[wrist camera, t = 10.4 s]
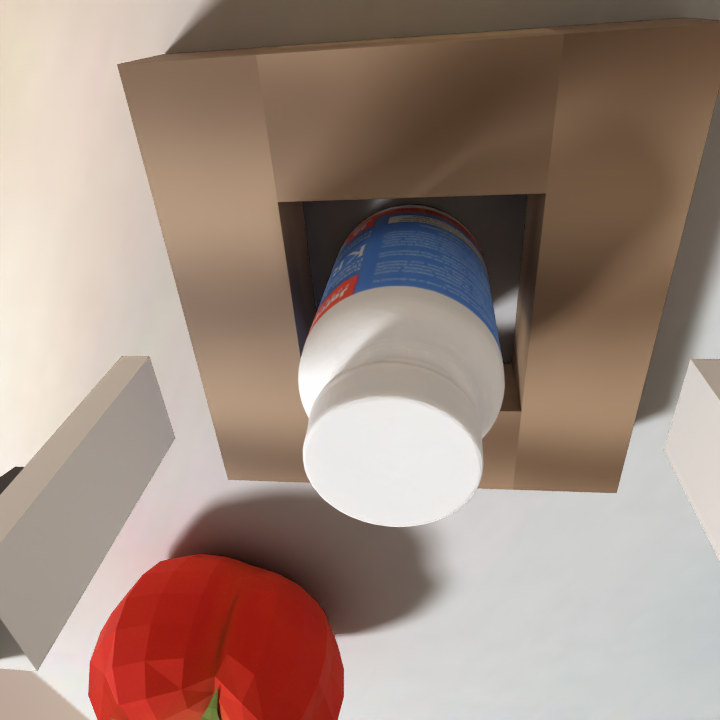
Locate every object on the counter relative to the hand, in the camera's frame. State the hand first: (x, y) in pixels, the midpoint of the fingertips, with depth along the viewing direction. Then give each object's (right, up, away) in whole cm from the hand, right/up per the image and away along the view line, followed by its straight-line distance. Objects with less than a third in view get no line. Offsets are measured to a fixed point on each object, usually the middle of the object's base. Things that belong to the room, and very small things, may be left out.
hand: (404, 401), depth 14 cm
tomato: (-8, -12, +18) cm, 24 cm away
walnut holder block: (+1, +4, +6) cm, 7 cm away
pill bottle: (+1, +4, +6) cm, 8 cm away
